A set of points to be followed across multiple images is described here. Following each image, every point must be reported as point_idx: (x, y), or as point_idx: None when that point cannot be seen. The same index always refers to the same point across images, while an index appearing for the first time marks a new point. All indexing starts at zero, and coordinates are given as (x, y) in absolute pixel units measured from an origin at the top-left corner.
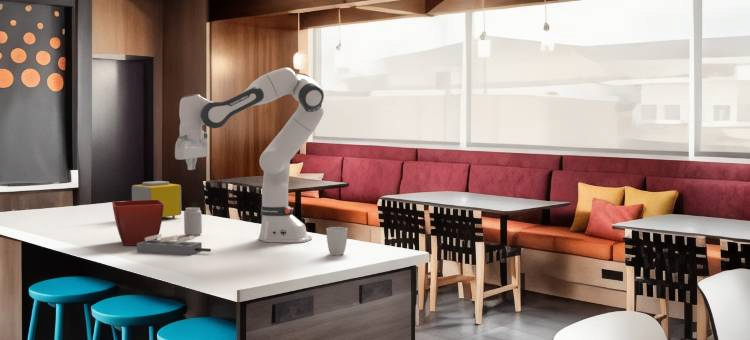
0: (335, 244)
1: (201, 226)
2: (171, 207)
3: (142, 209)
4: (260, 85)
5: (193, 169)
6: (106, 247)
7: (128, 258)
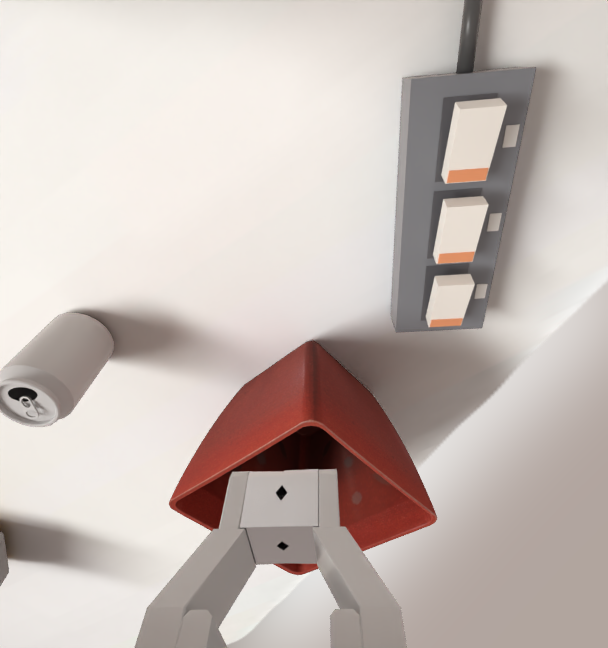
0: None
1: (46, 328)
2: None
3: (373, 453)
4: None
5: (263, 471)
6: (405, 421)
7: (600, 269)
